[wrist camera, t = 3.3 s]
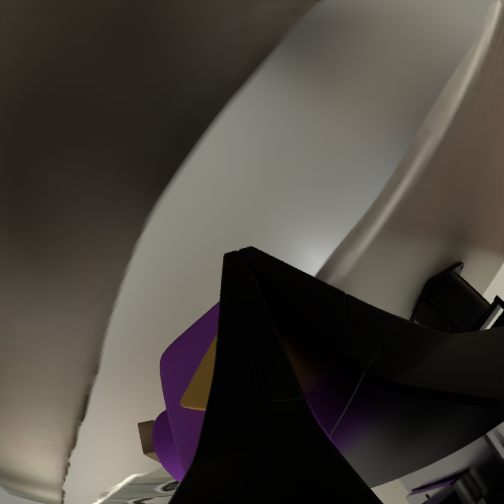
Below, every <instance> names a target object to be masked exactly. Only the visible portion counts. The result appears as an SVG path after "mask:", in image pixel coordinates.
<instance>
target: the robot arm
mask: <svg viewBox="0 0 504 504" xmlns="http://www.w3.org/2000/svg"><path fill="white" fill-rule="evenodd" d="M463 267H464V263H462V262H459V263H457V264H456V265H454V266H453V267H451V268H449V269H448V270H446V271H444V272H443V273H441V274H439V275H438V276H436V277H434V278H433V279H431V280H430V281H429V282H428V283H427V285H426V287H425V289H424V292H423V294H422V297H421V299H420V301H419V304H418V306H417V308H416V311H415V313H414V315H413V317H412V319H411V321H409V320H407V319H404V318H401V317H399V316H396V315H394V314H391V313H389V312H386V311H384V310H381V309H379V308H377V307H374V306H372V305H370V304H368V303H366V302H364V301H362V300H359V299H357V298H355V297H353V296H351V295H349V294H346V293H345V292H343V291H341V290H339V289H337V288H335V287H333V286H331V285H329V284H327V283H325V282H323V281H321V280H319V279H317V278H315V277H313V276H311V275H309V274H307V273H305V272H303V271H301V270H299V269H297V268H295V267H293V266H291V265H289V264H287V263H285V262H283V261H281V260H279V259H277V258H275V257H273V256H271V255H269V254H267V253H265V252H263V251H261V250H258V249H257V248H255V247H252V246H250V247H247V248H242V249H240V250H239V251H232V252H229V253H225V254H224V257H223V268H222V279H221V290H220V302H219V315H218V327H217V342H216V352H215V362H214V371H213V376H212V382H211V387H210V392H209V397H208V401H207V405H206V410H205V414H204V419H203V423H202V428H201V432H200V436H199V440H198V444H197V448H196V451H195V454H194V457H193V459H192V462H191V464H190V466H189V468H188V470H187V472H186V473H185V475H184V477H183V479H182V480H181V482H180V484H179V486H178V487H177V489H176V491H175V493H174V494H173V496H172V498H171V499H170V501H169V503H168V504H383V503H382V502H381V500H380V499H379V498H378V497H377V496H376V495H375V494H374V492H373V491H372V490H371V489H370V488H373V487H376V486H379V485H382V484H384V483H387V482H390V481H393V480H395V479H398V478H399V479H400V481H401V482H402V484H403V486H404V487H405V489H406V490H407V492H408V493H409V495H407V496H406V498H407V500H408V502H409V503H410V504H504V311H503V312H502V313H501V315H500V316H499V317H498V318H497V320H496V321H495V323H494V324H493V325H492V326H491V328H490V329H486V327H487V326H488V325H489V324H490V322H491V321H492V320H493V318H494V317H495V316H496V314H497V313H498V311H499V310H500V309H501V308H502V309H503V310H504V301H503V300H502V299H500V298H499V297H498V296H496V297H495V298H494V301H493V303H492V304H489V302H488V301H487V300H486V299H485V298H484V297H483V296H482V295H481V294H480V293H478V292H477V291H476V290H475V289H474V288H473V287H472V286H471V285H470V284H469V283H468V282H467V281H466V280H464V279H463V278H462V277H461V276H460V274H461V271H462V269H463ZM485 329H486V330H485ZM305 397H306V398H305ZM306 399H307V400H308V402H309V404H310V405H311V407H312V409H313V410H314V412H315V413H316V415H317V417H318V418H319V420H320V421H321V423H322V425H323V426H324V428H325V429H326V431H327V433H328V434H329V436H331V439H332V441H333V442H334V444H335V445H336V446H335V445H334V444H333V442H332V441H331V440H330V439H329V437H328V436H327V435H326V433H325V432H324V431H323V430H322V428H321V427H320V426H319V424H318V423H317V421H316V419H315V417H314V416H313V414H312V412H311V410H310V407H309V405H308V403H307V402H306ZM337 448H338V449H337Z"/></svg>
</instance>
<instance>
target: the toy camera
mask: <svg viewBox="0 0 504 504" xmlns="http://www.w3.org/2000/svg"><path fill="white" fill-rule="evenodd" d="M219 302H220V301H219ZM219 302H218V303H217V304H216V305H215V306H213V307H212V308H211V309H210V310H209V311H208V312H207V313H205V314H204V315H203V316H202V317H201V318H200V319H199V320H197V321H196V322H195V323H194V324H193V325H192V326H191V327H189V328H188V329H187V330H186V331H185V332H184V333H183V334H182V335H180V336H179V337H178V338H177V339H176V340H175V341H174V342H173V343H172V344H171V345H170V346H169V347H168V348H167V349H166V350H165V352H164V353H163V354H162V357H161V360H160V377H161V383H162V390H163V395H164V400H165V405H166V410H165V411H163V412H162V413H161V414H160V415H159V416H158V417H157V418H156V420H155V422H154V425H153V429H152V442H153V447H154V450H155V453H156V455H157V457H158V459H159V461H160V462H161V464H162V465H163V467H164V468H165V469H166V471H167V472H168V473H169V474H170V475H171V476H172V477H173V478H174V479H176V480H177V481H178V482H181V480H182V479H183V477H184V475H185V473H186V472H187V470H188V468H189V466H190V464H191V462H192V459H193V457H194V454H195V451H196V448H197V444H198V440H199V436H200V432H201V428H202V423H203V419H204V414H205V410H206V405H207V401H208V397H209V392H210V387H211V382H212V376H213V371H214V362H215V352H216V342H217V327H218V315H219ZM305 398H306V397H305ZM306 402H307V403H308V405H309V407H310V410H311V412H312V414H313V416H314V417H315V419H316V421H317V423H318V424H319V426H320V427H321V428H322V430H323V431H324V432H325V433H326V435H327V436H328V437H329V439H330V440H331V441H332V439H331V436H329V434H328V433H327V431H326V429H325V428H324V426H323V425H322V423H321V421H320V420H319V418H318V417H317V415H316V413H315V412H314V410H313V409H312V407H311V405H310V404H309V402H308V400H307V399H306ZM332 442H333V441H332ZM333 444H334V442H333ZM334 445H335V444H334ZM335 446H336V445H335ZM337 449H338V448H337Z"/></svg>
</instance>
